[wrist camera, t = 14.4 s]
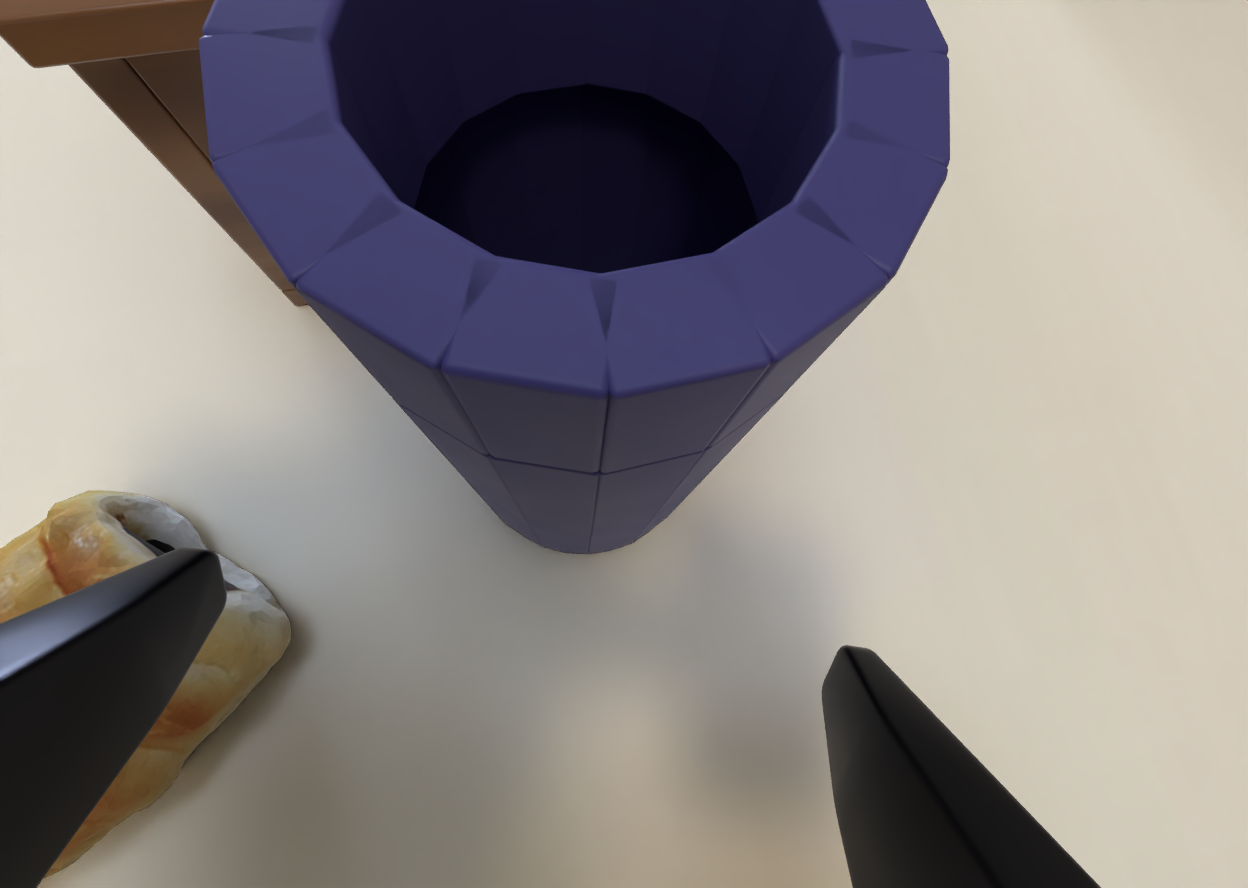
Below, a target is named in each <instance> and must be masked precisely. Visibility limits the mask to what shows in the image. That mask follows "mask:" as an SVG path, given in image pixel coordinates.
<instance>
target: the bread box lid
mask: <svg viewBox="0 0 1248 888" xmlns="http://www.w3.org/2000/svg"><path fill="white" fill-rule="evenodd" d="M213 3H214V0H0V36H1V37H2V38H3V39H4V40H5V41H6V42H7V43H8V44H9V45H10V46H11V47H12V48H13V49H14V50H15V51H16V52H17V53H18V54H19V55H20V56H21V57H22V58H23V59H24V60H25V61H26V62H27V63H28V64H29V65H30V66H32V67H33V68H43V67H51V66H60V65H68V64H77V63H85V62H94V61H102V60H111V59H119V58H128V57H136V56H145V55H153V54H162V53H170V52H179V51H187V50H196V49H199V39H200V38H201V37H203V32H202V27H203V25H204V23H205V21H206V18H207V16H208V14H209V12H210V9H211V7H212V5H213Z"/></svg>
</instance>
